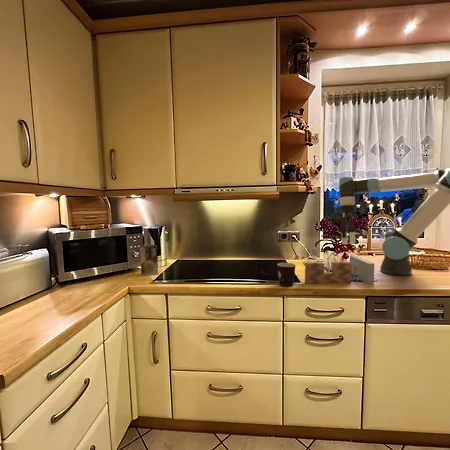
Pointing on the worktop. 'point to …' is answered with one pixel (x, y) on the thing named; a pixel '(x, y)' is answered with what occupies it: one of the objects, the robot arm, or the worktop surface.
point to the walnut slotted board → (317, 275)
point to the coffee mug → (286, 274)
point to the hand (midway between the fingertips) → (348, 244)
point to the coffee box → (148, 260)
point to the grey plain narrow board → (362, 269)
